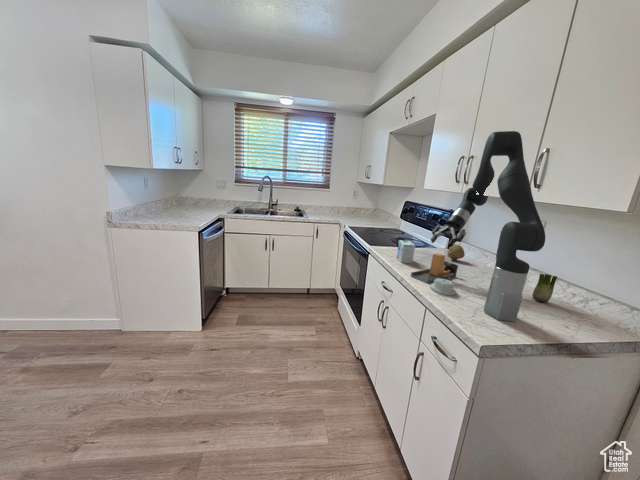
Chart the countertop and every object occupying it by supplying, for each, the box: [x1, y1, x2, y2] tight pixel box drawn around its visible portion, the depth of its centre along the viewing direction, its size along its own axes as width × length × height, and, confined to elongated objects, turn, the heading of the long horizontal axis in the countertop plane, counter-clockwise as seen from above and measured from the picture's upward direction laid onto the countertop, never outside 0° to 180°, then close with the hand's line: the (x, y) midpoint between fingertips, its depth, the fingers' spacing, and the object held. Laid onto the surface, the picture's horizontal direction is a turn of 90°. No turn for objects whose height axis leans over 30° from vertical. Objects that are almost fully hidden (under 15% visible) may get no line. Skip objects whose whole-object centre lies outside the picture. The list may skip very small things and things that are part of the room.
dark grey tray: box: [410, 268, 455, 284], centre depth 125 cm, size 23×9×2 cm, turn 124°
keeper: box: [442, 260, 459, 278], centre depth 129 cm, size 6×10×6 cm
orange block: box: [429, 252, 450, 276], centre depth 126 cm, size 9×6×10 cm
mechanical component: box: [429, 278, 457, 296], centre depth 109 cm, size 10×4×10 cm
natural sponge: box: [447, 244, 465, 261], centre depth 156 cm, size 9×9×10 cm
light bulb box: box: [395, 239, 416, 265], centre depth 147 cm, size 11×7×11 cm, turn 178°
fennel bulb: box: [532, 273, 558, 304], centre depth 105 cm, size 6×5×12 cm
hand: (440, 243), depth 121 cm, fingers open, 8 cm apart
